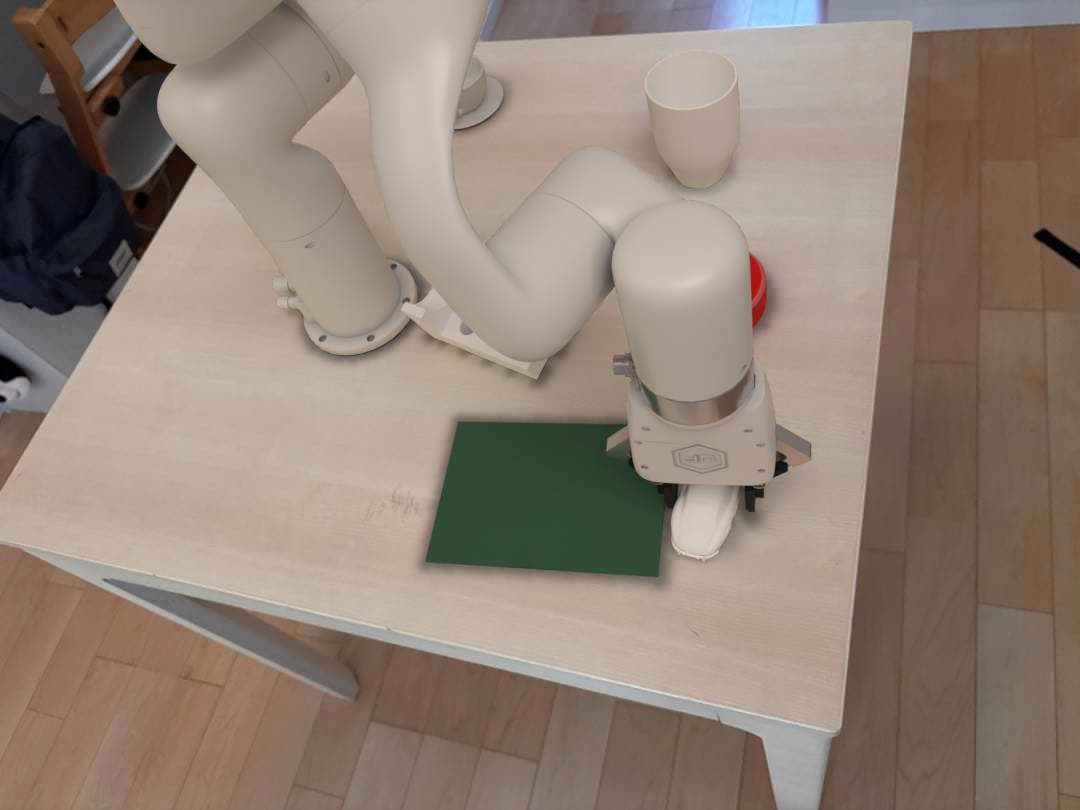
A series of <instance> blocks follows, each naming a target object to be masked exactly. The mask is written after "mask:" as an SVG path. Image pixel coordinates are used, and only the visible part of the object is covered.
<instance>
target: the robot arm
mask: <svg viewBox="0 0 1080 810" xmlns="http://www.w3.org/2000/svg"><path fill="white" fill-rule="evenodd" d="M112 1H113V2H114V4H115V6H116V8H117V9H118V11H119V12H120V14H121V16H122V17H123V19H124V20H125V22H126V23H127V25H128V26H129V28H130V29H131V30H132V32H133V33H134V35H135V37H136V38H137V39H138V40H139V42H140V43H141V44H143V46H144V47H145V48H146V49H147V50H148V51H150V52H151V53H152V54H153V55H154V56H155V57H157V58H159V59H161V60H162V61H164V62H166V63H168V64H172V65H175V66H174V68H173V69H172V70H171V71H170V72H169V73H168V75H167V76H166V77H165V79H164V80H163V82H162V84H161V86H160V89H159V92H158V94H157V100H156V110H157V114H158V118H159V121H160V123H161V125H162V127H163V128H164V130H165V132H166V133H167V134H168V135H169V137H170V138H171V139H172V141H173V142H174V143H175V144H176V146H178V148H180V149H181V151H183V153H185V154H186V155H187V156H188V157H189V158H190V159H191V160H192V162H194V163H195V164H196V165H197V166H198V167H199V168H200V169H201V171H203V173H205V175H207V176H208V177H209V178H210V180H212V182H213V183H215V185H216V186H217V188H219V189H220V190H221V192H222V194H224V195H225V197H226V198H227V199H228V201H229V202H230V203H231V204H232V206H233V207H234V208H235V210H237V212H238V213H239V215H240V216H241V217H242V219H243V220H244V222H245V223H246V225H247V226H248V227H249V229H250V230H251V232H252V233H254V235H255V237H256V238H257V239H258V241H259V242H260V243H261V245H262V246H263V248H264V249H265V251H266V252H267V254H268V255H269V256H270V258H271V259H272V260H273V262H274V263H275V265H276V266H277V268H278V269H279V270H280V272H281V273H282V275H276V276H274V278H273V281H272V286H273V291H274V292H275V293H276V294H294V293H296V296H292V295H280V296H278V297H277V299H276V306H277V308H278V309H279V310H292V309H297V310H298V311H300V313H301V314H302V315H303V326H304V330H305V332H306V333H307V336H308V337H309V338H310V340H311V341H312V342H313V343H314V345H316V347H318V348H320V349H321V350H322V351H325V352H326V353H328V354H329V353H330V354H333V355H338V356H354V355H360V354H364V353H368V352H371V351H374V350H375V349H378V348H379V347H380V348H381V346H384V345H386V344H387V343H388V342H390V341H391V340H393V339H394V338H395V337H396V336H397V335H399V334H400V332H402V331H403V330H404V328H405V327H406V326H407V325H408V324H409V322H410V320H412V319H411V318H410V317H408V316H407V315H406V314H405V313H404V312H402V311H401V309H402V307H403V305H404V303H405V302H408V303H410V304H416V303H418V297H419V292H418V286H417V283H416V281H415V278H414V277H413V275H412V274H411V272H410V270H409V269H408V268H407V267H406V266H404V265H403V264H402V263H401V262H398V261H396V260H393V259H390V258H386V256H385V254H384V253H383V251H382V248H381V247H380V245H379V243H378V242H377V240H376V237H375V236H374V235H373V232H372V230H371V229H370V227H369V226H368V225H369V224H367V222H366V220H365V218H364V216H363V215H362V213H361V211H360V209H359V207H358V205H357V204H356V202H355V200H354V198H353V197H352V195H351V193H350V191H349V189H348V187H347V186H346V183H345V182H344V180H343V179H342V176H341V175H340V174H339V171H338V169H337V168H336V167H335V165H334V164H333V162H332V161H331V160H330V159H329V158H328V157H327V156H326V155H324V153H322V152H320V151H319V150H318V149H315V148H313V147H310V146H308V145H306V144H302V143H299V142H295V141H293V140H294V138H295V136H296V135H297V134H298V133H299V132H300V131H301V130H302V129H303V128H304V127H305V126H306V125H307V124H308V122H309V121H310V120H311V119H312V118H313V117H315V116H316V115H317V114H318V112H319V111H321V110H322V109H323V108H325V106H326V105H327V104H329V103H330V102H331V100H333V99H334V98H335V97H336V96H337V95H338V94H340V92H341V91H342V90H344V88H345V87H346V86H347V85H348V84H349V83H350V82H351V80H353V77H354V76H355V75H356V76H357V78H358V80H359V81H360V83H361V85H362V87H363V89H364V92H365V95H366V99H367V104H368V112H369V130H370V132H369V133H370V145H371V154H372V163H373V169H374V173H375V178H376V179H375V180H376V183H377V187H378V191H379V194H380V197H381V202H382V203H383V207H384V210H385V214H386V216H387V219H388V221H389V223H390V226H391V228H392V231H393V233H394V236H395V237H396V239H397V241H398V243H399V245H400V247H401V249H402V250H403V252H404V253H405V255H406V257H407V258H408V259H409V261H410V262H411V263H412V265H413V266H414V267H415V268H416V270H417V271H418V272H419V273H420V275H421V276H422V277H423V278H424V279H425V280H426V281H427V282H428V284H430V285H431V288H432V287H433V288H434V289H435V290H436V291H437V292H438V294H439V295H440V296H441V297H442V298H443V299H444V301H445V302H446V303H447V304H448V305H449V306H450V308H451V309H452V310H453V311H454V312H455V313H456V314H457V315H458V316H459V317H460V319H461V320H462V321H463V322H464V323H465V324H466V325H467V326H468V327H469V328H470V329H471V330H472V331H473V332H474V333H475V334H476V335H477V336H478V337H479V338H480V339H482V340H483V341H484V342H485V343H486V344H487V345H489V346H490V347H491V348H493V349H494V350H496V351H497V352H499V353H501V354H502V355H504V356H506V357H508V358H511V359H513V360H517V361H521V362H537V361H542V360H544V359H547V358H548V359H549V358H551V357H553V356H554V355H556V354H557V353H559V352H560V351H561V350H562V349H563V348H564V347H566V345H567V344H568V343H569V342H570V341H571V340H572V338H573V337H574V336H575V335H576V334H577V333H578V332H579V331H580V330H581V328H582V327H583V326H584V325H585V324H586V322H587V321H588V320H589V319H590V318H591V317H592V316H593V314H594V313H595V312H596V310H597V309H598V308H599V307H600V305H601V304H602V303H603V302H604V301H605V300H606V299H607V297H608V296H609V295H610V294H611V292H612V291H613V290H614V289H615V293H616V297H617V301H618V305H619V309H620V314H621V317H622V323H623V326H624V330H625V335H626V338H627V339H626V340H627V343H628V347H629V351H630V352H624V354H614V355H613V359H612V370H613V371H612V372H613V374H614V375H615V376H624V377H625V378H629V379H630V381H629V386H628V391H627V398H626V415H627V424H628V425H627V426H626V427H624V428H623V429H621V430H620V431H618V432H617V433H615V434H614V435H612V436H611V437H609V438H608V439H607V445H606V455H608V456H610V457H612V458H615V459H617V460H620V461H622V462H625V461H626V462H629V464H628V465H629V467H631V468H633V469H635V470H636V471H637V473H638V474H639V475H640V476H641V477H642V478H644V479H646V480H649V481H650V482H651V483H652V484H655V485H657V489H658V493H659V494H664V495H665V503H666V508H667V509H671V510H673V509H674V506H675V503H676V500H677V498H678V496H679V484H680V485H682V484H704V485H744V488H743V491H744V504H745V505H744V506H745V511H748V513H755V512H756V499H764V498H765V488H767V487H768V482H769V481H771V480H772V479H774V478H776V477H778V476H781V475H783V474H786V473H787V472H788V471H789V468H790V467H792V468H795V467H798V466H800V465H803V464H806V463H808V462H811V461H812V442H810V441H808V440H806V439H805V438H803V437H801V436H799V435H797V434H796V433H794V432H792V431H790V430H789V429H786V428H785V427H784V426H781V425H779V424H778V423H776V420H777V419H776V414H775V413H776V411H775V405H774V400H773V395H772V390H771V387H770V383H769V380H768V377H767V375H766V372H765V370H764V368H763V366H762V364H761V363H760V361H759V359H758V358H757V357H756V356H755V354H754V352H755V351H754V335H753V334H754V331H753V328H752V303H751V278H750V257H749V252H750V250H749V244H748V241H747V238H746V235H745V233H744V231H743V230H742V228H741V226H740V224H739V223H738V222H737V221H736V219H734V218H733V217H732V215H730V214H729V213H728V212H726V211H725V210H723V209H722V208H720V207H717V206H716V205H714V204H711V203H708V202H704V201H699V200H692V199H685V197H682V196H680V195H679V194H678V193H676V192H674V191H673V190H672V189H670V188H669V187H667V186H666V185H664V184H663V183H661V182H660V181H659V180H657V179H656V178H655V177H653V175H651V174H649V173H648V172H647V171H645V170H644V169H643V168H641V167H640V166H638V165H637V164H635V163H634V162H633V161H632V160H631V159H629V158H627V157H626V156H625V155H622V154H620V153H618V152H616V151H614V150H611V149H609V148H607V147H604V146H599V145H585V146H582V147H579V148H576V149H575V150H573V151H572V152H570V153H569V154H567V155H566V156H565V157H564V158H563V159H562V160H561V161H560V162H559V163H558V164H557V165H556V166H555V167H554V168H553V169H552V171H551V172H550V173H548V175H547V176H546V177H545V178H544V179H543V181H542V182H540V183H539V185H538V186H537V187H536V188H535V189H534V190H533V191H532V192H531V194H530V195H529V196H527V197H526V198H525V199H524V200H523V201H522V202H521V203H520V205H519V206H518V207H516V209H515V210H514V212H512V213H511V215H510V216H509V217H508V218H507V219H506V220H505V221H504V222H503V223H502V224H501V226H500V227H499V228H498V229H497V230H496V231H495V232H494V233H493V234H492V235H491V236H490V238H488V239H487V240H486V241H485V242H484V241H483V239H481V237H480V235H479V234H478V233H477V231H476V229H475V227H474V225H472V223H471V222H470V219H469V217H468V215H467V213H466V211H465V208H464V207H463V204H462V201H461V198H460V193H459V191H458V190H459V189H458V187H457V181H456V173H455V168H454V167H455V166H454V136H455V129H454V127H455V120H456V115H457V109H458V104H459V101H460V97H461V93H462V89H463V86H464V82H465V78H466V75H467V71H468V68H469V65H470V61H471V58H472V55H474V52H475V49H476V46H477V43H478V41H479V38H480V36H481V32H482V29H483V26H484V23H485V21H486V19H487V14H488V9H489V5H490V0H112ZM548 359H547V360H548Z"/></svg>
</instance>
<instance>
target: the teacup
mask: <svg viewBox="0 0 1080 810" xmlns="http://www.w3.org/2000/svg"><path fill="white" fill-rule="evenodd" d="M503 99H504V89H503V86H502V84H501V83H500V82H499V81H498V80H497V79H495V78H494V77H491V76H487V75H486V70H485V64H484V62H483V60H482V59H481V58H480V57H479V56H477V55H475V54H473V55H472V58H471V61H470V65H469V68H468V71H467V75H466V78H465V82H464V86H463V89H462V93H461V97H460V101H459V104H458V109H457V115H456V120H455V127H454V130H461V129H466V128H470V127H472V126H476V125H477V124H481V123H482V122H483V121H485V120H486V119H488V118H490V117H491V116H492V115H494V113H496V111H497V110H498V108H500V105H501V104H502V102H503Z"/></svg>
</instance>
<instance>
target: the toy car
mask: <svg viewBox="0 0 1080 810" xmlns="http://www.w3.org/2000/svg"><path fill="white" fill-rule="evenodd" d="M744 486H745V485H704V484H681V486H680V491H679V492H678V498H677V500H676V503H675V506H674V509H672V512H671V517H670V518H671V519H670V529H671V532H670V533H671V537H670V541H671V545H672V547H673V549H674V550H675V552H677V555H678V556H681V555H682V556H683V557H685V556H686V557H689V558H692V559H696V560H697V561H699V560H701V561H702V562H703V563H705V561H706V560H709V559H712V558H713V557H715V556H716V555H717V554H718V553H719V552H721V551H720V549H721V547H722V545H723V544H724V542H725V540H726V538H727V537H728V535H729V534H730V532H731V528H732V523H733V518H735V517H736V514H737V511H738V507H739V504H740V501H741V497H742V495H743V491H744Z"/></svg>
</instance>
